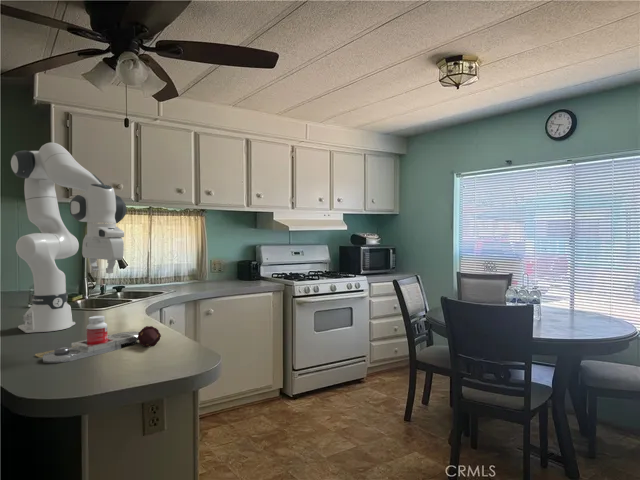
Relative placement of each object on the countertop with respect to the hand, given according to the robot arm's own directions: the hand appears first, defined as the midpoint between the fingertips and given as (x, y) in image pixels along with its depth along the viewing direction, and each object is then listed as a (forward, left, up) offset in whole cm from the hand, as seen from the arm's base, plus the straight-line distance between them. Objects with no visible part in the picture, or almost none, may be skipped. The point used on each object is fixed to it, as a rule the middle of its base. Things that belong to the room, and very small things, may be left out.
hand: (102, 272), depth 153 cm
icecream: (+14, +8, -25) cm, 30 cm away
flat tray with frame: (+4, -5, -25) cm, 26 cm away
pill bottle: (+4, -4, -25) cm, 26 cm away
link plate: (-5, -15, -26) cm, 30 cm away
